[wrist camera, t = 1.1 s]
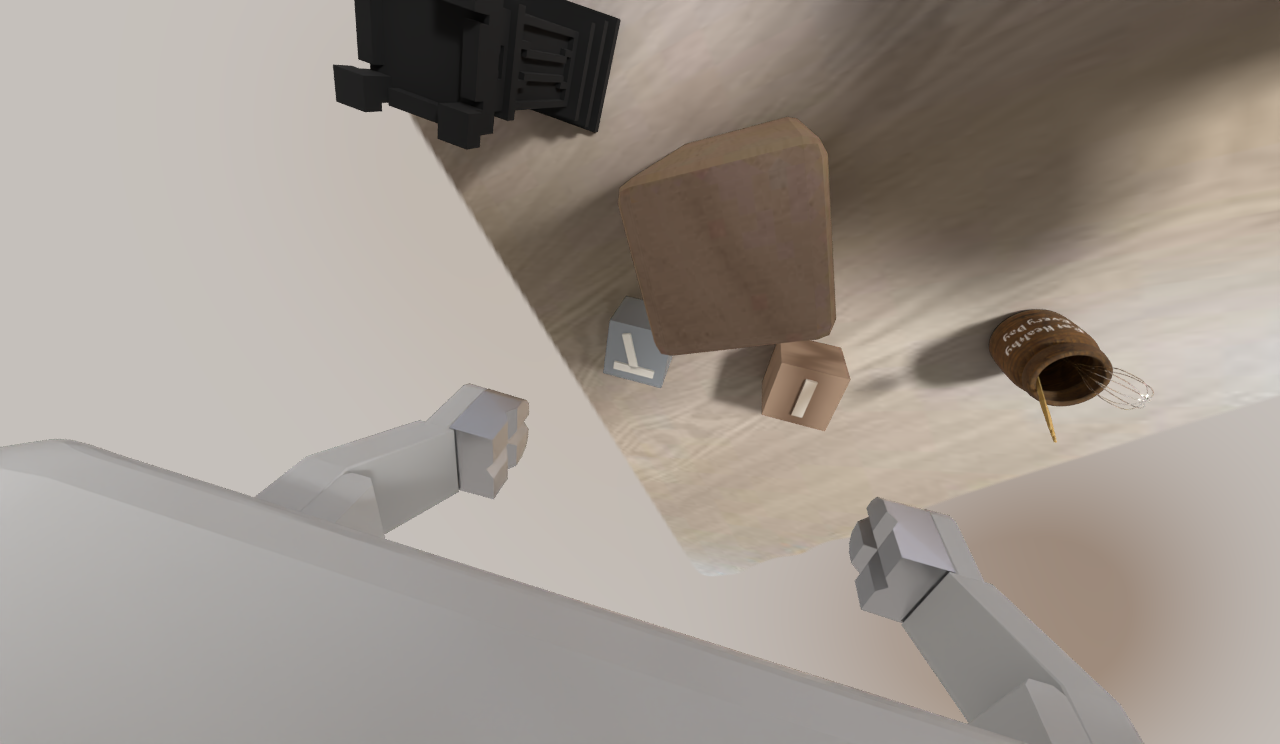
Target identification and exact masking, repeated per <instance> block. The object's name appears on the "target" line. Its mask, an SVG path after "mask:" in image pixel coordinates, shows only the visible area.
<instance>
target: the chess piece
mask: <svg viewBox="0 0 1280 744" xmlns="http://www.w3.org/2000/svg"><path fill="white" fill-rule="evenodd" d="M354 1H355V15H356V31H357V46H358V59H359V60H362V61H365V62H367V63H370V69H359V68H356V67H354V66H345V65H333V70H334V80H335V91H336V101H337V102H339V103H342V104H345V105H347V106H350V107H353V108H356V109H358V110H361V111H364V112H375V111H382V103H386V102H387V103H389V106H392V107H395V108H397V109H400V110H403V111H405V112H408V113H411V114H414V115H416V116H419V117H422V118H425V119H427V120H430V121H433V122H435V123H438V139H440V140H442V141H445V142H448V143H451V144H453V145H456V146H459V147H461V148H464V149H473V148H478V147H480V135H485V134H492V133H493V124H494V116H496V117H498V118H501V119H504V120H507V121H510V120H514V114H515V110H525V109H531V110H534V111H537V112H539V113H542V114H545V115H548V116H550V117H553V118H556V119H559V120H561V121H564V122H567V123H570V124H572V125H575V126H578V127H581V128H584V129H586V130H589V131H592V132H598V128H599V123H600V118H601V113H602V108H603V103H604V98H605V94H606V89H607V84H608V79H609V74H610V69H611V64H612V59H613V55H614V50H615V45H616V40H617V35H618V30H619V25H620V19H618V18H615V17H612V16H610V15H607V14H604V13H601V12H598V11H595V10H592V9H590V8H587V7H584V6H581V5H578V4H575V3H572V2H570V1H567V0H354Z"/></svg>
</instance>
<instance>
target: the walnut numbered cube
mask: <svg viewBox="0 0 1280 744" xmlns="http://www.w3.org/2000/svg"><path fill="white" fill-rule="evenodd" d="M849 382H850V376H849V373H848V370H847V366H846V363H845V359H844V356H843V352H842V349H841V348H840V347H836V346H831V345H827V344H823V343H819V342H815V341H811V340H807V341H798V342H789V343H780V344H776V346H775V349H774V351H773V354H772V357H771V360H770V362H769V365H768V368H767V370H766V373H765V376H764V379H763V381H762V415H765V416H769V417H772V418H776V419H780V420H784V421H788V422H791V423H795V424H799V425H803V426H807V427H810V428H814V429H818V430H822V431H825V430H826V428H827V426H828V424H829V422H830V420H831V418H832V416H833V414H834V412H835V410H836V408H837V406H838V404H839V402H840V400H841V398H842V396H843V394H844V392H845V390H846V388H847V386H848V384H849Z"/></svg>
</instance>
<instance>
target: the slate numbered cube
mask: <svg viewBox="0 0 1280 744" xmlns="http://www.w3.org/2000/svg"><path fill="white" fill-rule="evenodd" d="M671 359H672V356H669V355H664V354H661V353H660V351H659V350H658V348H657V347H656V345H655V342H654V339H653V335H652V332H651V328H650V324H649V320H648V316H647V313H646V309H645V305H644V301H643V300H641V299H636V298H632V297H628V296H626V297H625V299H624V300H623V302H622V303H621V305H620V306H619V308H618V309H617V310H616V312H615V313H614V315H613V316H612V318H611V319H610V323H609V331H608V339H607V347H606V355H605V363H604V371H603V373H605V374H609V375H613V376H617V377H620V378H624V379H628V380H632V381H636V382H639V383H643V384H647V385H651V386H655V387H658V388H661V387H662V385H663V382H664V379H665V376H666V373H667V370H668V368H669V365H670V362H671Z"/></svg>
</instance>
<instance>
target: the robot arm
mask: <svg viewBox="0 0 1280 744" xmlns="http://www.w3.org/2000/svg"><path fill="white" fill-rule="evenodd" d="M528 415H529V403H528V402H527V400H524V399H521V398H517V397H514V396H511V395H508V394H504V393H501V392H497V391H494V390H491V389H486V388H483V387H480V386H476V385H473V384H466V385H463V386H462V387H461V388H460V389H459V390H458V391H457V392H456V393H455V394H454V395H453V396H452V397H451V398H450V399H449V400H448V401H447V402H446V403H445V404H444V405H442V406H441V407H440V408H439V409H438V410H437V411H436V412H435V413H434V414H433V415H432V416H431V417H430V418H429V419H428V420H427V421H426V422H424V421H421V420H419V421H415V422H412V423H409V424H406V425H403V426H400V427H397V428H394V429H390V430H387V431H384V432H381V433H378V434H375V435H372V436H369V437H366V438H362V439H359V440H356V441H353V442H350V443H347V444H344V445H341V446H337V447H334V448H331V449H328V450H325V451H322V452H319V453H316V454H312V455H310V456H307V457H305V458H304V459H302V460H301V461H300V462H299V463H297V464H296V465H295V466H294V467H292V468H291V469H290V470H288V471H287V472H286V473H285V474H283V475H282V476H281V477H279V478H278V479H277V480H276V481H274V482H273V483H272V484H271V485H269V486H268V487H267V488H265V489H264V490H263V491H262V492H260V493H259V494H258V495H257V496H256V497H251V496H248V495H245V494H242V493H238V492H236V491H232V490H229V489H226V488H223V487H219V486H216V485H214V484H210V483H207V482H204V481H201V480H197V479H194V478H191V477H188V476H185V475H182V474H179V473H175V472H173V471H169V470H166V469H163V468H160V467H157V466H154V465H150V464H147V463H144V462H140V461H138V460H134V459H131V458H128V457H125V456H122V455H119V454H116V453H113V452H110V451H107V450H105V449H102V448H98V447H96V446H93V445H90V444H86V443H82V442H78V441H74V440H64V439H49V440H42V441H36V442H29V443H23V444H17V445H10V446H4V447H0V744H1144V743H1143V741H1142V739H1141V738H1140V736H1139V734H1138V733H1137V731H1136V729H1135V727H1134V726H1133V724H1132V723H1131V721H1130V719H1129V718H1128V716H1127V714H1126V713H1125V711H1124V709H1123V708H1122V706H1121V704H1119V703H1118V702H1117V701H1116V700H1115V699H1114V698H1113V697H1112V696H1111V695H1110V694H1109V693H1108V692H1106V690H1104V689H1103V688H1102V687H1101V686H1100V685H1099V684H1098V683H1097V682H1096V681H1095V680H1094V679H1093V678H1092V677H1091V676H1090V675H1089V674H1087V673H1086V672H1085V671H1084V670H1083V669H1082V668H1081V667H1080V666H1079V665H1078V664H1077V663H1076V662H1075V661H1073V659H1071V658H1070V657H1069V656H1068V655H1067V654H1066V653H1065V652H1064V651H1063V650H1062V649H1061V648H1060V647H1059V646H1058V645H1056V644H1055V643H1054V642H1053V641H1052V640H1051V639H1050V638H1049V637H1048V636H1047V635H1046V634H1045V633H1044V632H1042V630H1040V628H1038V627H1037V626H1036V625H1035V624H1034V623H1033V622H1032V621H1031V620H1030V619H1029V618H1028V617H1027V616H1026V615H1025V614H1024V613H1022V612H1021V611H1020V610H1019V609H1018V608H1017V607H1016V606H1015V605H1014V604H1013V603H1012V602H1011V601H1010V600H1008V598H1006V597H1005V596H1004V595H1003V594H1002V593H1001V592H1000V591H999V590H998V589H997V588H996V587H995V586H994V585H992V584H989V583H986V582H984V580H983V578H982V576H981V573H980V571H979V569H978V567H977V565H976V563H975V561H974V559H973V557H972V555H971V553H970V551H969V549H968V546H967V544H966V542H965V540H964V538H963V536H962V534H961V532H960V530H959V528H958V526H957V523H956V522H955V520H954V519H953V518H952V517H951V516H950V515H946V514H942V513H938V512H934V511H930V510H927V509H921V508H917V507H913V506H910V505H906V504H902V503H899V502H895V501H891V500H887V499H884V498H880V497H876V498H875V499H873V500H872V501H871V502H870V504H869V505H868V507H867V511H868V515H869V517H867V518H865V519H863V520H860V521H858V522H857V524H856V526H855V527H854V529H853V531H852V534H851V538H850V543H849V554H850V559H851V563H852V564H853V566H854V567H855V568H856V569H857V571H858V572H859V573H860V575H859V576H858V577H857V579H856V580H855V583H856V588H857V593H858V598H859V603H860V607H861V610H864V611H867V612H870V613H873V614H876V615H879V616H882V617H885V618H888V619H891V620H894V621H897V622H901V623H903V624H902V626H903V628H904V629H905V631H906V632H907V634H908V635H909V637H910V638H911V639H912V641H913V642H914V644H915V645H916V647H917V648H918V650H919V651H920V652H921V654H922V656H923V657H924V658H925V660H926V661H927V663H928V664H929V666H930V667H931V669H932V670H933V672H934V673H935V674H936V676H937V677H938V679H939V680H940V682H941V683H942V685H943V686H944V687H945V689H946V691H947V692H948V693H949V695H950V696H951V698H952V699H953V701H954V702H955V703H956V705H957V707H958V708H959V709H960V711H961V712H962V714H963V715H964V717H965V718H966V719H967V721H968V724H966V723H963V722H960V721H957V720H953V719H950V718H947V717H944V716H941V715H938V714H934V713H931V712H928V711H925V710H922V709H919V708H915V707H913V706H909V705H906V704H903V703H900V702H897V701H894V700H890V699H887V698H884V697H881V696H878V695H875V694H871V693H869V692H865V691H862V690H859V689H856V688H853V687H850V686H846V685H843V684H840V683H837V682H834V681H831V680H827V679H824V678H821V677H818V676H815V675H812V674H809V673H805V672H802V671H799V670H796V669H793V668H790V667H786V666H783V665H780V664H777V663H774V662H771V661H767V660H764V659H761V658H758V657H755V656H752V655H748V654H745V653H742V652H739V651H736V650H733V649H730V648H726V647H723V646H720V645H717V644H714V643H711V642H707V641H704V640H701V639H698V638H695V637H692V636H689V635H686V634H682V633H679V632H676V631H673V630H670V629H667V628H664V627H660V626H657V625H654V624H651V623H648V622H645V621H642V620H638V619H635V618H632V617H629V616H626V615H623V614H620V613H616V612H613V611H610V610H607V609H604V608H601V607H598V606H595V605H591V604H588V603H585V602H582V601H579V600H575V599H573V598H569V597H566V596H563V595H560V594H556V593H554V592H550V591H547V590H544V589H541V588H538V587H535V586H531V585H528V584H525V583H522V582H519V581H516V580H513V579H510V578H506V577H503V576H500V575H497V574H494V573H491V572H487V571H484V570H481V569H478V568H475V567H472V566H468V565H465V564H462V563H459V562H456V561H453V560H450V559H447V558H443V557H440V556H437V555H434V554H431V553H428V552H425V551H421V550H418V549H415V548H412V547H409V546H405V545H402V544H399V543H396V542H393V541H390V540H387V539H385V536H384V534H386V533H388V532H389V531H391V530H393V529H395V528H396V527H398V526H400V525H402V524H403V523H405V522H407V521H409V520H410V519H412V518H414V517H416V516H417V515H419V514H421V513H423V512H424V511H426V510H428V509H430V508H431V507H433V506H435V505H437V504H438V503H440V502H442V501H443V500H445V499H447V498H449V497H450V496H452V495H454V494H456V493H457V492H459V490H462V491H465V492H469V493H473V494H477V495H481V496H484V497H488V498H491V499H494V498H495V497H496V495H497V494H498V492H499V491H500V489H501V488H502V486H503V485H504V483H505V482H506V480H507V479H508V477H507V476H508V469H509V468H511V467H514V466H516V465H517V463H518V462H519V460H520V459H521V457H522V455H523V452H524V450H525V447H526V444H527V439H528V427H527V426H526V424H525V423H524V420H525V419H526V418H527V416H528Z"/></svg>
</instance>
